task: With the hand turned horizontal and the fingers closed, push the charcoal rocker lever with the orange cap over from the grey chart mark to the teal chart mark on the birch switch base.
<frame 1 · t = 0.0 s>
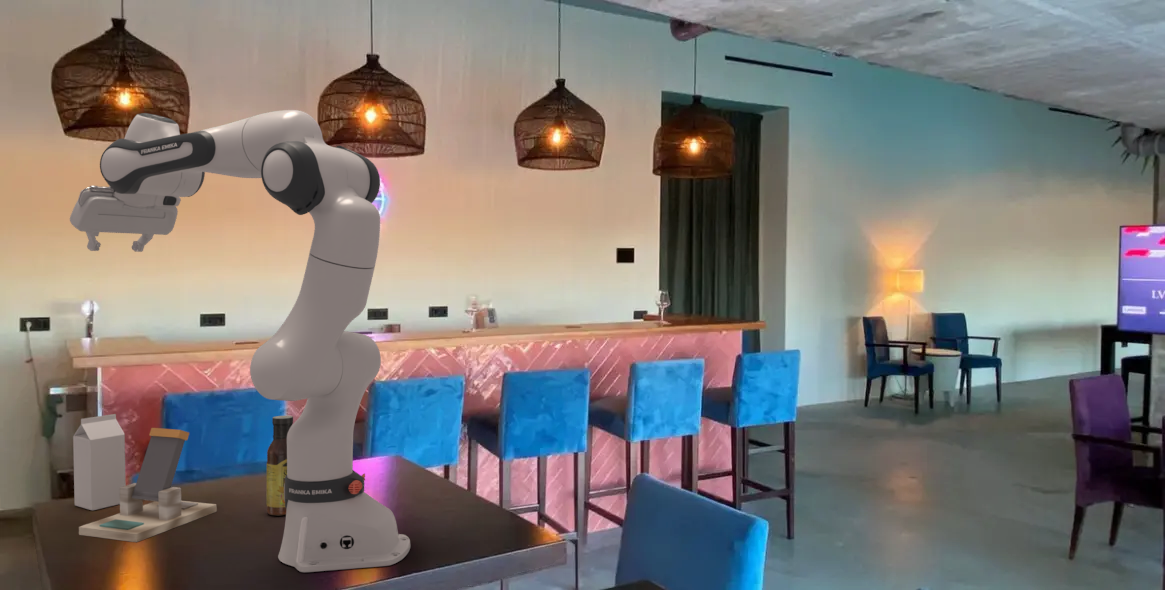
hand: (115, 250, 168), 54 cm above the table, tool tilted 30°, fingers open, 8 cm apart
sauce bottle: (283, 513, 169), on the table
milk carton: (100, 505, 174), on the table
switch base: (150, 522, 162), on the table
rocker lever: (159, 464, 164), point 11 cm above the table, hinge at -24.0°
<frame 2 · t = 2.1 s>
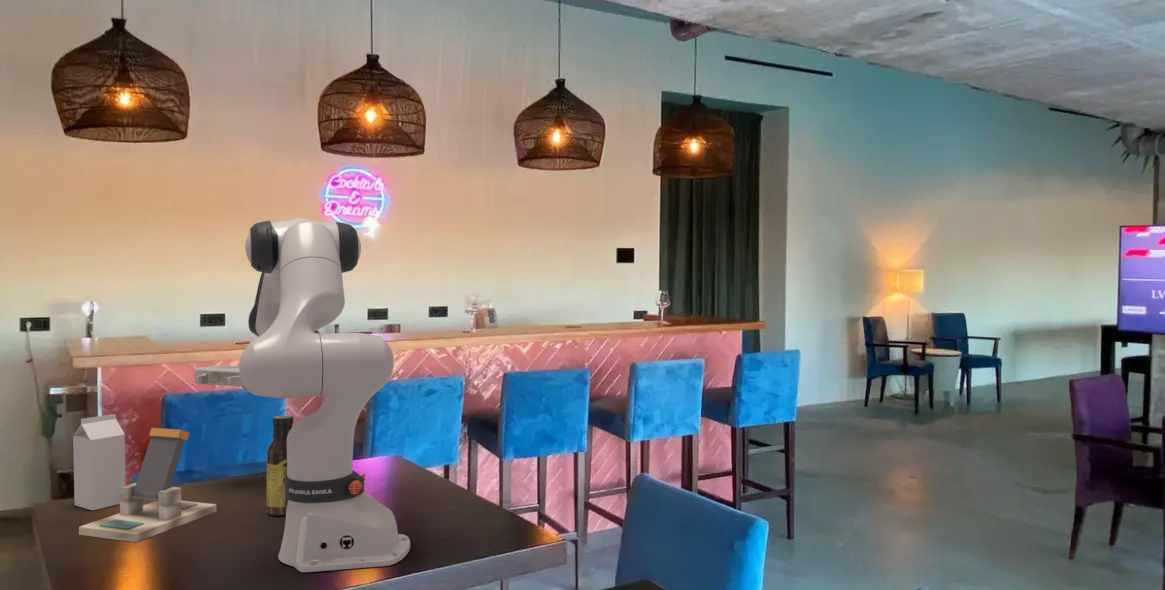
hand: (212, 380, 177), 26 cm above the table, tool horizontal, fingers open, 6 cm apart
nothing on the table moved.
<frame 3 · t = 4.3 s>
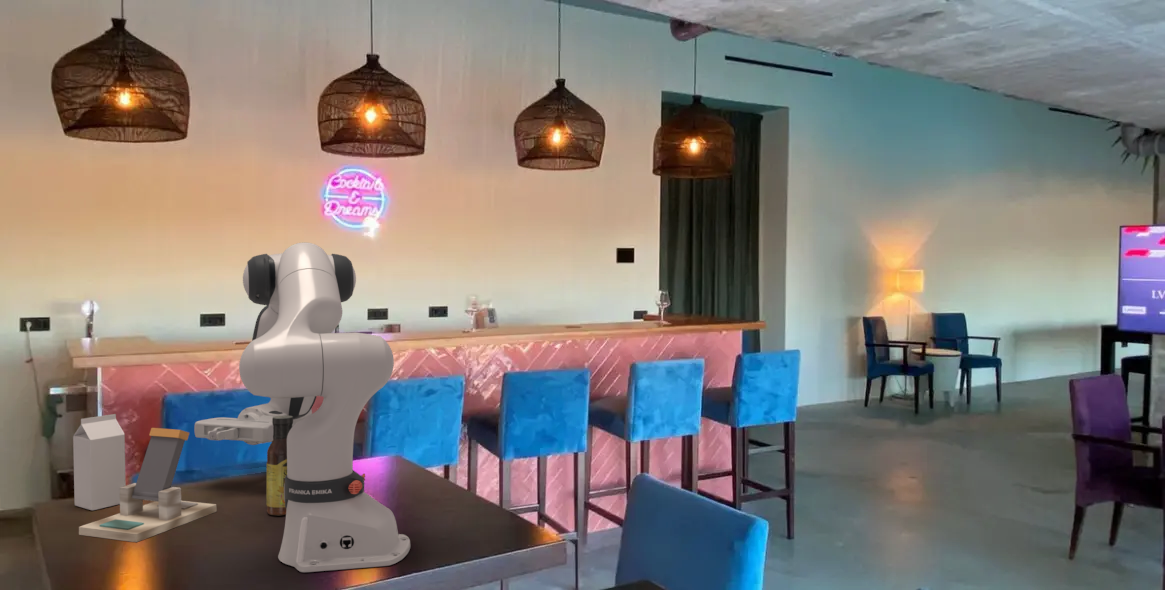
hand: (212, 436, 177), 14 cm above the table, tool horizontal, fingers closed
nothing on the table moved.
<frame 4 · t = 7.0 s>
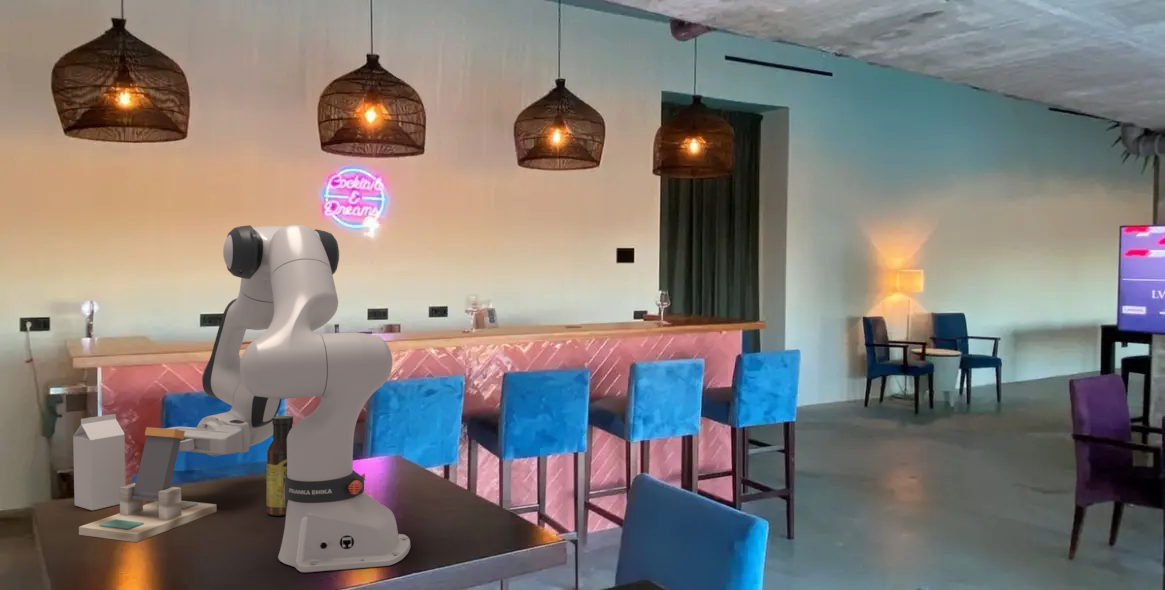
hand: (166, 448, 165), 14 cm above the table, tool horizontal, fingers closed, pressing on rocker lever
rocker lever: (157, 464, 163), point 11 cm above the table, hinge at -18.2°, touching gripper
everything else where it was.
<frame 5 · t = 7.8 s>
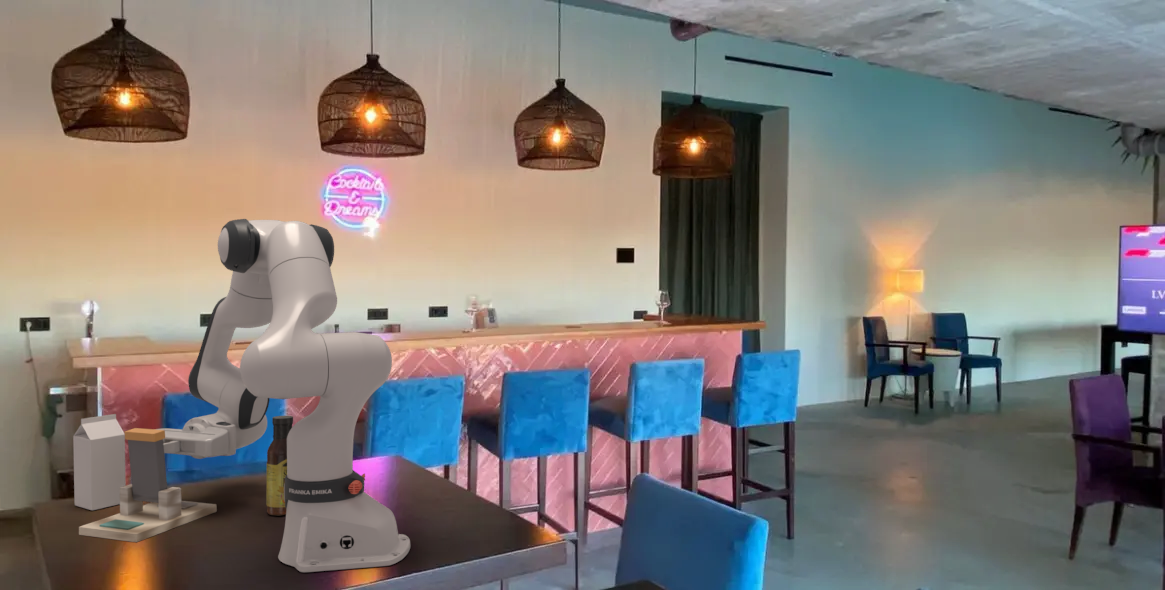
hand: (150, 450, 162), 14 cm above the table, tool horizontal, fingers closed, pressing on rocker lever
rocker lever: (147, 465, 161), point 12 cm above the table, hinge at 4.9°, touching gripper
everything else where it was.
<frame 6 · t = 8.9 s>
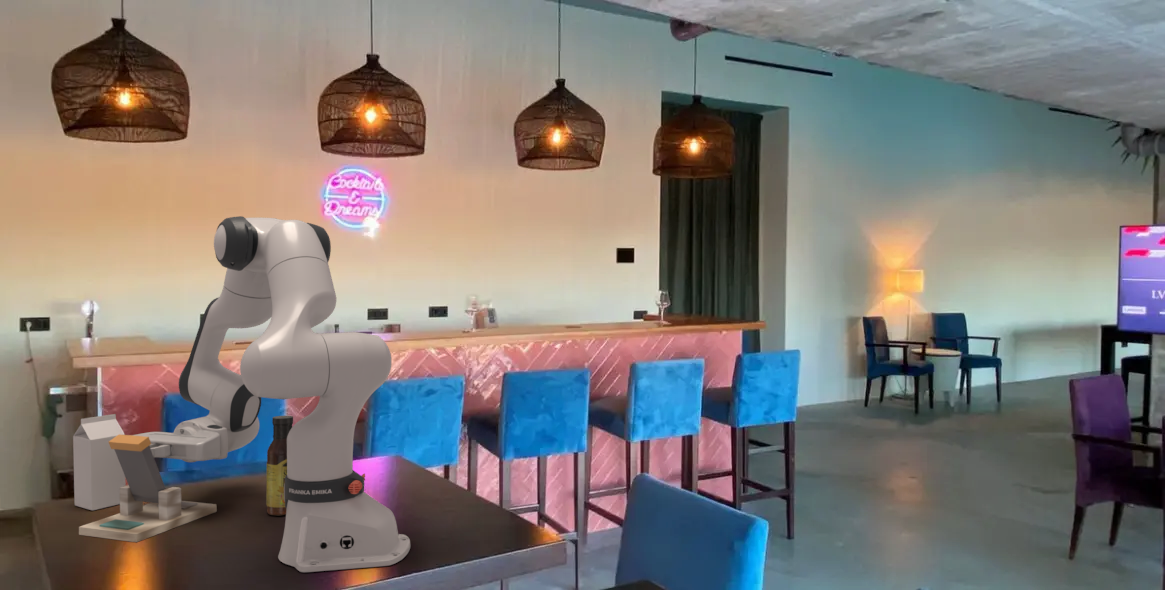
hand: (140, 454, 159), 14 cm above the table, tool horizontal, fingers closed, pressing on rocker lever
rocker lever: (140, 469, 159), point 11 cm above the table, hinge at 22.0°, touching gripper
everything else where it was.
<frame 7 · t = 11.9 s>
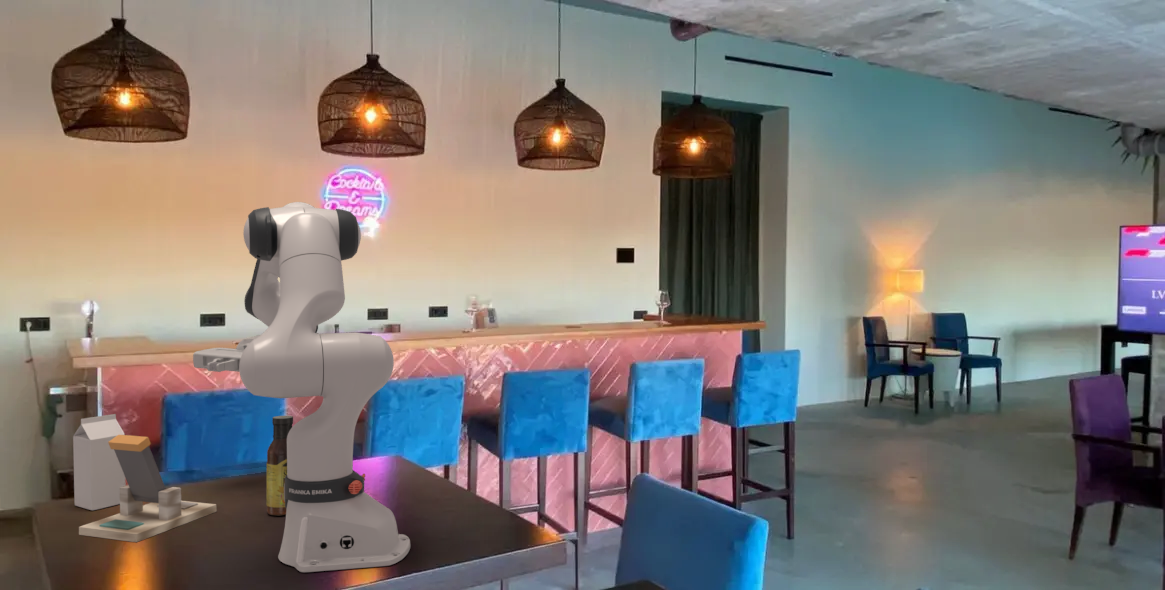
hand: (212, 367, 177), 29 cm above the table, tool horizontal, fingers closed
rocker lever: (140, 469, 159), point 11 cm above the table, hinge at 22.3°
everything else where it was.
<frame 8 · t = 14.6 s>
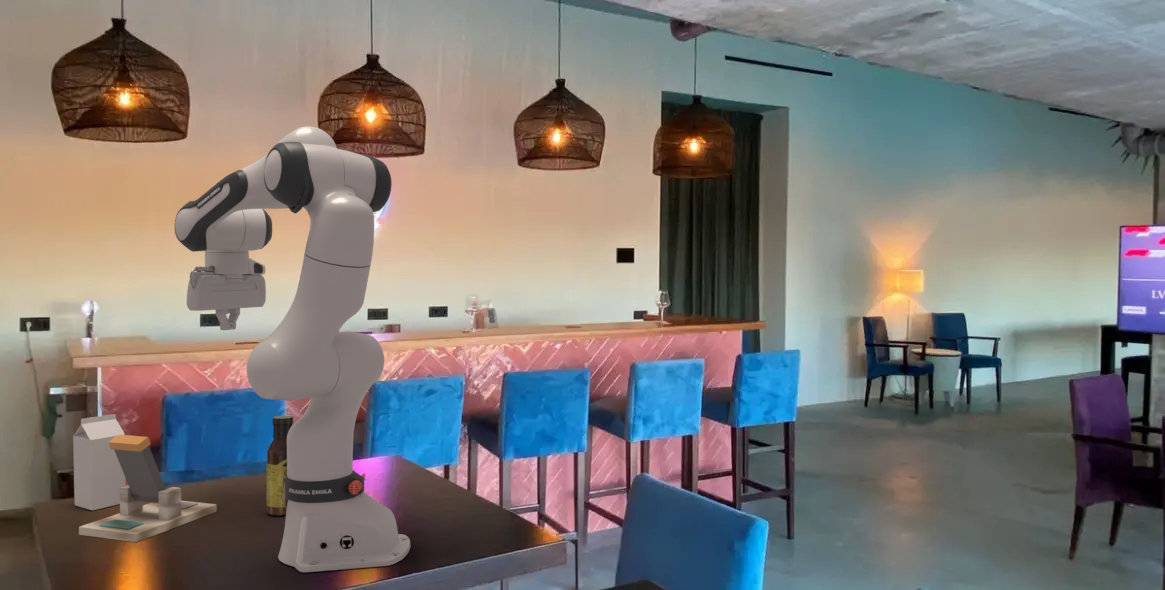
hand: (228, 329, 178), 37 cm above the table, tool pointing down, fingers closed
nothing on the table moved.
at the end: rocker lever at +22° (first picture: -24°); sauce bottle moved 0.2 cm from its start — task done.
